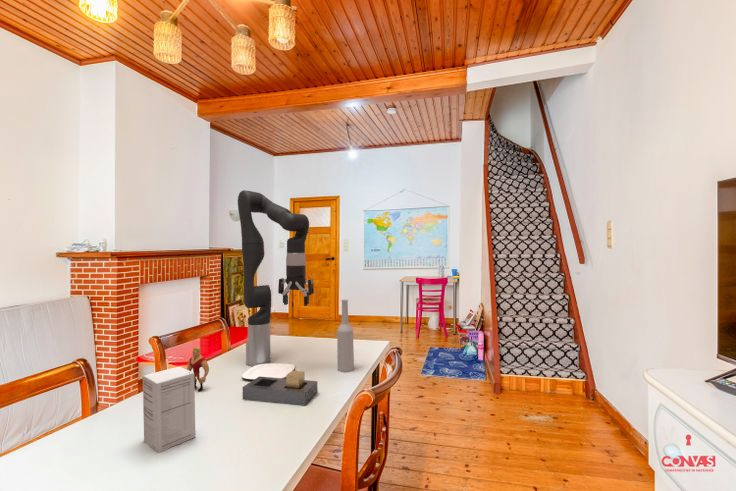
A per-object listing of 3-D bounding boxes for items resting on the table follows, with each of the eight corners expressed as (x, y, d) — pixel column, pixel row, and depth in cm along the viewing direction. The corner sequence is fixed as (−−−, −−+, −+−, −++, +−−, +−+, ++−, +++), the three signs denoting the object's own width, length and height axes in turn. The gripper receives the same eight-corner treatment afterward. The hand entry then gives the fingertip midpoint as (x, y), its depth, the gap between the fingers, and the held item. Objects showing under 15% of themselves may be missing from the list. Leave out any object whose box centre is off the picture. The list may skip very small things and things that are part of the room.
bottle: (353, 372, 141) (352, 300, 141) (336, 372, 141) (335, 301, 141) (354, 366, 148) (353, 298, 148) (338, 366, 148) (337, 298, 148)
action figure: (181, 389, 125) (181, 346, 125) (190, 386, 129) (189, 344, 129) (202, 393, 122) (202, 349, 122) (210, 389, 125) (210, 346, 126)
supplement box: (181, 426, 99) (180, 365, 99) (196, 437, 93) (196, 372, 93) (142, 441, 91) (141, 374, 91) (156, 453, 85) (156, 382, 86)
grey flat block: (242, 399, 116) (242, 387, 116) (259, 387, 126) (259, 376, 126) (305, 405, 111) (305, 392, 111) (317, 393, 120) (317, 381, 121)
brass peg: (286, 399, 115) (286, 375, 116) (292, 394, 120) (292, 370, 120) (299, 401, 114) (298, 376, 114) (304, 395, 119) (304, 371, 119)
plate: (298, 367, 149) (298, 363, 149) (284, 383, 131) (284, 379, 131) (256, 366, 150) (256, 362, 150) (236, 382, 132) (236, 378, 132)
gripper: (274, 264, 139) (274, 305, 140) (308, 265, 136) (308, 307, 136) (284, 263, 147) (284, 302, 147) (316, 264, 143) (316, 304, 143)
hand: (295, 305), depth 141 cm, fingers open, 8 cm apart
